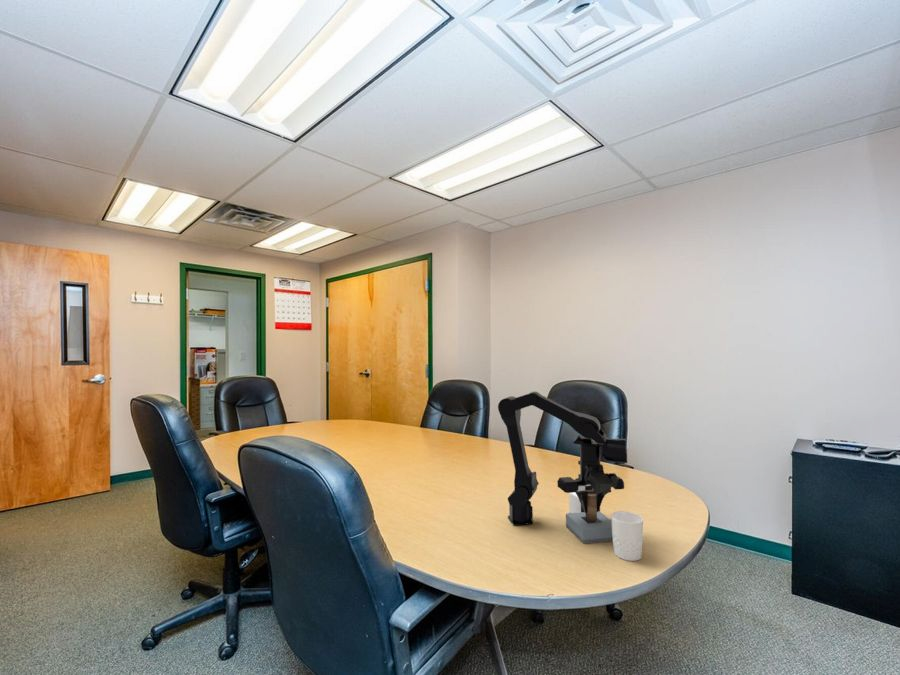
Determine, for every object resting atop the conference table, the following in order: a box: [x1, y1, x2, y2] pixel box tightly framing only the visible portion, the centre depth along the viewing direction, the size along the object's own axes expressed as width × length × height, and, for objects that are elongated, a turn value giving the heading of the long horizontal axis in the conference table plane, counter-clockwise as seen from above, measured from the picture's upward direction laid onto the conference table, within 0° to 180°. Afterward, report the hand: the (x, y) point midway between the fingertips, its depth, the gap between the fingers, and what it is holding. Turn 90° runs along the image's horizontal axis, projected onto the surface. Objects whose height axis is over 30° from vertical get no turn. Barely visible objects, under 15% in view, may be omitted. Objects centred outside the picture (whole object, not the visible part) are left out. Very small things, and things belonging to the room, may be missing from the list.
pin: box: [586, 490, 597, 521], centre depth 121 cm, size 3×3×8 cm
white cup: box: [610, 510, 644, 562], centre depth 108 cm, size 8×8×10 cm
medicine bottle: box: [568, 477, 601, 513], centre depth 133 cm, size 7×7×12 cm
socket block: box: [565, 510, 613, 544], centre depth 121 cm, size 11×11×4 cm
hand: (591, 512), depth 121 cm, fingers closed on pin, 3 cm apart
